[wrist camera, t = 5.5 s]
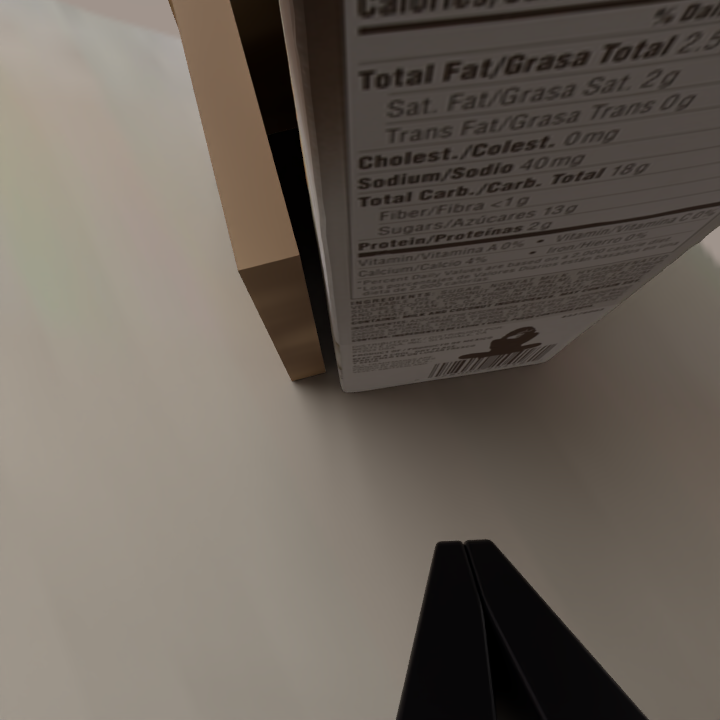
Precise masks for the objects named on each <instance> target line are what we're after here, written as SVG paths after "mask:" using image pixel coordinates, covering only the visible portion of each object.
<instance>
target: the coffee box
mask: <svg viewBox="0 0 720 720" xmlns="http://www.w3.org/2000/svg"><path fill="white" fill-rule="evenodd" d="M279 5H280V12H281V18H282V25H283V31H284V37H285V44H286V50H287V56H288V63H289V70H290V77H291V84H292V90H293V96H294V102H295V108H296V117H297V121H298V127H299V134H300V142H301V150H302V154H303V160H304V167H305V174H306V181H307V187H308V190H309V197H310V204H311V211H312V218H313V224H314V229H315V235H316V241H317V247H318V253H319V260H320V266H321V272H322V279H323V285H324V291H325V297H326V303H327V309H328V315H329V321H330V327H331V333H332V338H333V344H334V350H335V355H336V361H337V366H338V372H339V378H340V384H341V387H342V390H343V391H344V392H360V391H367V390H374V389H380V388H386V387H393V386H399V385H405V384H412V383H418V382H424V381H431V380H437V379H444V378H451V377H457V376H464V375H470V374H477V373H483V372H490V371H495V370H501V369H507V368H513V367H519V366H525V365H532V364H538V363H543V362H546V361H548V360H549V359H551V358H552V357H553V356H554V355H556V354H557V353H558V352H559V351H561V350H562V349H563V348H564V347H566V346H567V345H568V344H569V343H570V342H572V341H573V340H574V339H576V338H577V337H578V336H579V335H581V334H582V333H583V332H584V331H586V330H587V329H589V328H590V327H591V326H592V325H593V324H595V323H596V322H598V321H599V320H600V319H601V318H602V317H604V316H605V315H606V314H608V313H609V312H611V311H612V310H613V309H615V308H616V307H617V306H618V305H620V304H621V303H622V302H623V301H624V300H626V299H627V298H628V297H629V296H631V295H632V294H633V293H634V292H636V291H637V290H638V289H640V288H641V287H642V286H643V285H645V284H646V283H647V282H648V281H650V280H651V279H652V278H654V277H655V276H656V275H658V274H659V273H660V272H661V271H663V270H664V269H665V268H666V267H667V266H669V265H670V264H671V263H673V262H674V261H675V260H676V259H678V258H679V257H680V256H681V255H682V254H684V253H685V252H686V251H687V250H688V249H690V248H691V247H693V246H694V245H696V244H697V243H699V242H700V241H701V240H703V239H704V238H705V237H706V236H707V235H708V234H709V233H711V232H712V231H713V230H714V229H716V228H717V227H718V226H720V0H279Z"/></svg>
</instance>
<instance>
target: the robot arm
mask: <svg viewBox="0 0 720 720" xmlns="http://www.w3.org/2000/svg"><path fill="white" fill-rule="evenodd" d="M396 720H649V719H648V718H647V717H646V716H645V715H644V714H643V713H642V712H641V710H640V709H639V708H638V707H637V706H636V705H635V704H634V702H633V701H632V700H631V699H630V698H629V697H628V696H627V694H626V693H625V692H624V691H623V690H622V689H621V688H620V686H619V685H618V684H617V683H616V682H615V681H614V680H613V678H612V677H611V676H610V675H609V674H608V673H607V672H606V671H605V669H604V668H603V667H602V666H601V665H600V664H599V663H598V661H597V660H596V659H595V658H594V657H593V656H592V655H591V653H590V652H589V651H588V650H587V649H586V648H585V647H584V645H583V644H582V643H581V642H580V641H579V640H578V639H577V638H576V636H575V635H574V634H573V633H572V632H571V631H570V630H569V628H568V627H567V626H566V625H565V624H564V623H563V622H562V620H561V619H560V618H559V617H558V616H557V615H556V614H555V612H554V611H553V610H552V609H551V608H550V607H549V606H548V604H547V603H546V602H545V601H544V600H543V599H542V598H541V597H540V595H539V594H538V593H537V592H536V591H535V590H534V589H533V587H532V586H531V585H530V584H529V583H528V582H527V581H526V579H525V578H524V577H523V576H522V575H521V574H520V573H519V571H518V570H517V569H516V568H515V567H514V566H513V565H512V564H511V562H510V561H509V560H508V559H507V558H506V557H505V556H504V554H503V553H502V552H501V551H500V550H499V549H498V548H497V546H496V545H495V544H494V543H493V542H492V541H490V540H487V539H483V540H467V541H465V542H464V544H463V543H462V542H461V541H441V542H438V543H437V544H436V546H435V550H434V554H433V559H432V563H431V568H430V572H429V576H428V581H427V585H426V590H425V594H424V599H423V603H422V607H421V612H420V616H419V621H418V625H417V629H416V634H415V638H414V643H413V647H412V651H411V656H410V660H409V665H408V669H407V673H406V678H405V682H404V687H403V691H402V695H401V700H400V704H399V709H398V713H397V717H396Z"/></svg>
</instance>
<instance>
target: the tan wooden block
mask: <svg viewBox="0 0 720 720" xmlns="http://www.w3.org/2000/svg"><path fill="white" fill-rule="evenodd" d="M168 1H169V4H170V7H171V9H172V12H173V15H174V18H175V20H176V23H177V25H178V28H179V32H180V36H181V40H182V44H183V48H184V52H185V56H186V60H187V64H188V68H189V73H190V77H191V81H192V85H193V89H194V93H195V97H196V101H197V105H198V109H199V113H200V117H201V122H202V126H203V130H204V134H205V138H206V142H207V146H208V150H209V154H210V158H211V162H212V166H213V170H214V175H215V179H216V183H217V187H218V191H219V195H220V199H221V203H222V207H223V211H224V215H225V219H226V223H227V228H228V232H229V236H230V240H231V244H232V248H233V252H234V256H235V260H236V264H237V268H238V272H239V274H240V276H241V278H242V280H243V282H244V284H245V286H246V288H247V290H248V292H249V294H250V296H251V298H252V300H253V302H254V304H255V306H256V309H257V311H258V313H259V315H260V317H261V319H262V321H263V323H264V325H265V327H266V329H267V331H268V333H269V335H270V337H271V339H272V341H273V343H274V346H275V348H276V350H277V352H278V354H279V356H280V358H281V360H282V362H283V364H284V366H285V368H286V370H287V372H288V374H289V376H290V378H291V380H292V381H295V380H299V379H302V378H306V377H310V376H313V375H317V374H321V373H324V372H326V371H325V366H324V362H323V357H322V353H321V348H320V344H319V339H318V335H317V331H316V326H315V322H314V317H313V313H312V308H311V304H310V299H309V295H308V290H307V286H306V282H305V277H304V273H303V268H302V264H301V259H300V255H299V251H298V248H297V244H296V240H295V237H294V233H293V229H292V226H291V222H290V218H289V215H288V211H287V208H286V204H285V200H284V197H283V193H282V189H281V186H280V182H279V178H278V175H277V171H276V167H275V164H274V160H273V156H272V153H271V149H270V146H269V142H268V138H267V135H270V134H274V133H278V132H282V131H286V130H290V129H295V128H299V127H298V121H297V117H296V108H295V102H294V96H293V90H292V84H291V77H290V70H289V63H288V56H287V50H286V44H285V37H284V31H283V25H282V18H281V12H280V5H279V0H168Z"/></svg>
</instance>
